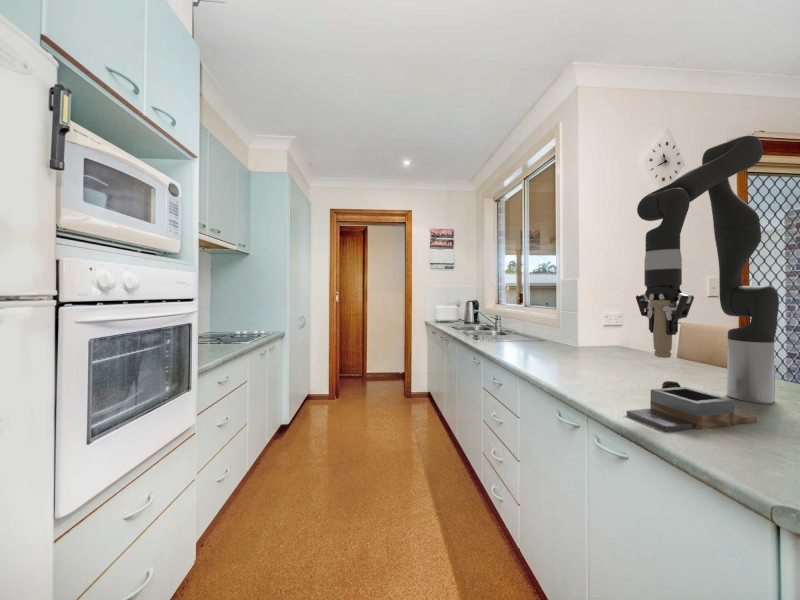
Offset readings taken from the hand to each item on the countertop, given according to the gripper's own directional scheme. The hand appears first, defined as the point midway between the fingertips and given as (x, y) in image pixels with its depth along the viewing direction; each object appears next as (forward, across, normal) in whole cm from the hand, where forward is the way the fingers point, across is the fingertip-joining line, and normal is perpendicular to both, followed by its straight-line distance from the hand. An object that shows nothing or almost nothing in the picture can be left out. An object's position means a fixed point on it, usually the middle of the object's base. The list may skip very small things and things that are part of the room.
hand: (662, 333), depth 83 cm
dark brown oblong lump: (+21, +8, -14) cm, 27 cm away
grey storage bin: (+21, -5, +2) cm, 21 cm away
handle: (+6, 0, 0) cm, 6 cm away
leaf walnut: (+21, -5, -6) cm, 22 cm away
